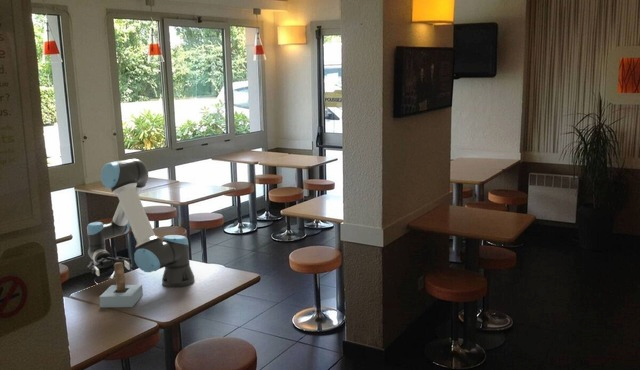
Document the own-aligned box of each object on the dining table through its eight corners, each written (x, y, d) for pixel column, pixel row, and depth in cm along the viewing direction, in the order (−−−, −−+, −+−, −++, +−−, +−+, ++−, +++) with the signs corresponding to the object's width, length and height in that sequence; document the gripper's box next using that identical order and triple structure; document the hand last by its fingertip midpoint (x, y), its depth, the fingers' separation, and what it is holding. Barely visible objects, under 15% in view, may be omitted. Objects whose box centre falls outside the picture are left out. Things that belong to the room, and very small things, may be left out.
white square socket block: (142, 294, 263) (141, 284, 262) (132, 307, 249) (131, 296, 248) (112, 295, 263) (111, 284, 262) (100, 307, 249) (99, 296, 248)
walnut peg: (127, 298, 258) (124, 262, 254) (124, 301, 254) (121, 264, 251) (119, 298, 258) (116, 262, 254) (116, 301, 254) (113, 264, 251)
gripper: (129, 260, 287) (142, 272, 269) (76, 271, 273) (86, 283, 256) (127, 246, 285) (140, 256, 268) (74, 256, 272) (84, 267, 254)
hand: (114, 270), depth 262 cm, fingers open, 13 cm apart
